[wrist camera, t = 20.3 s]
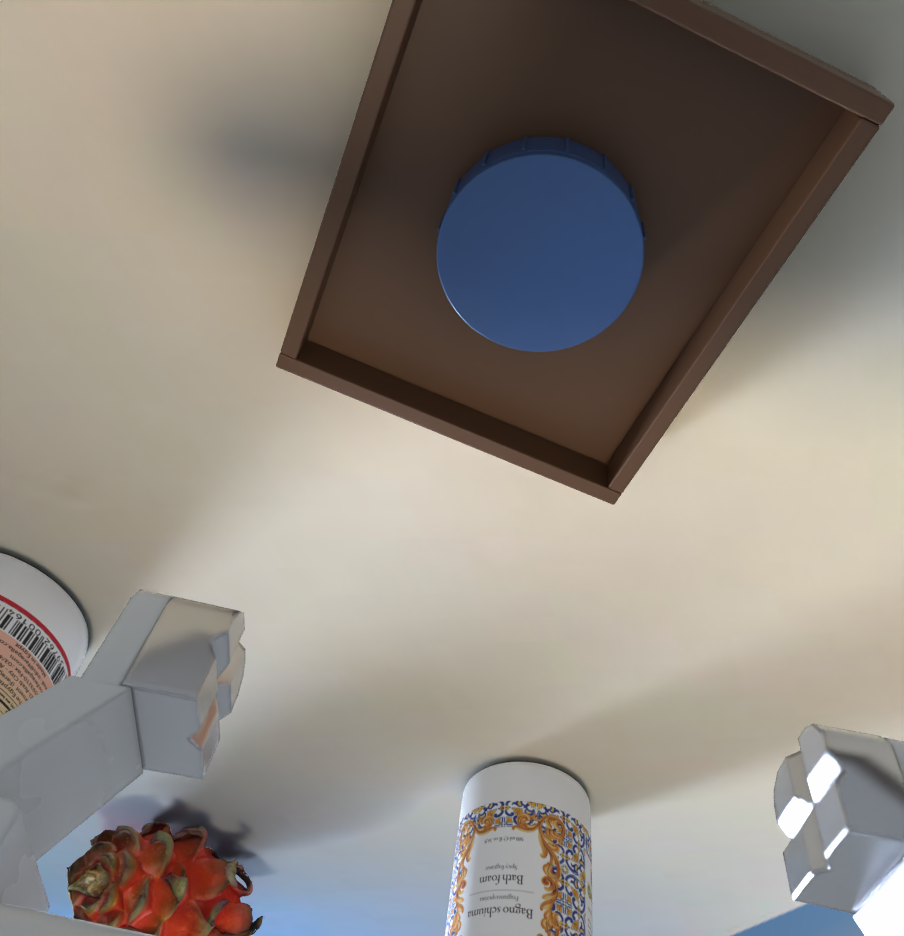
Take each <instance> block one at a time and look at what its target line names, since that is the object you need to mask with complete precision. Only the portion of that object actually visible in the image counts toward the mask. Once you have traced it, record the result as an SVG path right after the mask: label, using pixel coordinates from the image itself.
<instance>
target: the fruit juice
mask: <svg viewBox="0 0 904 936" xmlns="http://www.w3.org/2000/svg"><path fill="white" fill-rule="evenodd" d="M87 646H88V630H87V625H86V622H85V620H84V617H83V615H82V613H81V611H80V610H79V608H78V607H77V605H76V604H75V602H74V601H73V600H72V599H71V597H70V596H69V595H68V594H67V593H66V592H65V591H64V590H63V589H62V588H61V587H60V586H59V585H58V584H57V583H55V582H54V581H53V580H52V579H50V578H49V577H48V576H46V575H45V574H44V573H42V572H41V571H39V570H37V569H36V568H34V567H32V566H30V565H29V564H27V563H25V562H23V561H21V560H18V559H16V558H14V557H11V556H9V555H6V554H3V553H0V716H1V715H3V714H5V713H7V712H8V711H10V710H12V709H14V708H15V707H17V706H19V705H20V704H22V703H24V702H26V701H27V700H29V699H31V698H33V697H34V696H36V695H38V694H40V693H41V692H43V691H45V690H47V689H48V688H50V687H52V686H54V685H55V684H57V683H59V682H60V681H62V680H64V679H66V678H67V677H69V676H76V674H77V673H78V671H79V669H80V667H81V664H82V662H83V660H84V657H85V655H86V651H87Z"/></svg>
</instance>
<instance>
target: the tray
mask: <svg viewBox="0 0 904 936" xmlns="http://www.w3.org/2000/svg"><path fill="white" fill-rule="evenodd" d="M893 108H894V103H892V102H891V101H890V100H889V99H887V98H886V97H885V96H884V95H882V94H881V93H880V92H879V91H877V90H876V89H875V88H874V87H872V86H870V85H868V84H866V83H864V82H862V81H860V80H859V79H857V78H855V77H853V76H851V75H849V74H847V73H845V72H843V71H841V70H839V69H837V68H835V67H833V66H831V65H829V64H827V63H825V62H823V61H821V60H819V59H817V58H815V57H813V56H811V55H809V54H807V53H805V52H803V51H801V50H799V49H797V48H795V47H793V46H791V45H789V44H788V43H786V42H784V41H782V40H780V39H778V38H776V37H774V36H772V35H770V34H768V33H766V32H764V31H762V30H760V29H758V28H756V27H754V26H752V25H750V24H748V23H746V22H744V21H742V20H740V19H738V18H736V17H734V16H732V15H730V14H728V13H726V12H724V11H722V10H720V9H718V8H717V7H715V6H713V5H711V4H709V3H707V2H705V1H703V0H393V1H392V4H391V7H390V10H389V13H388V16H387V20H386V23H385V26H384V29H383V32H382V35H381V38H380V41H379V45H378V48H377V51H376V54H375V57H374V60H373V63H372V67H371V70H370V73H369V76H368V79H367V82H366V85H365V88H364V92H363V95H362V98H361V101H360V104H359V107H358V110H357V113H356V117H355V120H354V123H353V126H352V129H351V132H350V135H349V139H348V142H347V145H346V148H345V151H344V154H343V157H342V160H341V164H340V167H339V170H338V173H337V176H336V179H335V182H334V185H333V189H332V192H331V195H330V198H329V201H328V204H327V207H326V211H325V214H324V217H323V220H322V223H321V226H320V229H319V232H318V236H317V239H316V242H315V245H314V248H313V251H312V254H311V257H310V261H309V264H308V267H307V270H306V273H305V276H304V279H303V283H302V286H301V289H300V292H299V295H298V298H297V301H296V304H295V308H294V311H293V314H292V317H291V320H290V323H289V326H288V329H287V333H286V336H285V339H284V342H283V345H282V348H281V353H280V354H279V358H278V361H277V364H276V366H277V367H278V368H281V369H283V370H286V371H288V372H291V373H293V374H295V375H298V376H300V377H303V378H305V379H308V380H310V381H313V382H315V383H317V384H320V385H322V386H325V387H327V388H330V389H332V390H334V391H337V392H339V393H342V394H344V395H347V396H349V397H352V398H354V399H356V400H359V401H361V402H364V403H366V404H369V405H371V406H374V407H376V408H378V409H381V410H383V411H386V412H388V413H391V414H393V415H396V416H398V417H400V418H403V419H405V420H408V421H410V422H413V423H415V424H417V425H420V426H422V427H425V428H427V429H430V430H432V431H435V432H437V433H439V434H442V435H444V436H447V437H449V438H452V439H454V440H457V441H459V442H461V443H464V444H466V445H469V446H471V447H474V448H476V449H479V450H481V451H483V452H486V453H488V454H491V455H493V456H496V457H498V458H500V459H503V460H505V461H508V462H510V463H513V464H515V465H518V466H520V467H522V468H525V469H527V470H530V471H532V472H535V473H537V474H540V475H542V476H544V477H547V478H549V479H552V480H554V481H557V482H559V483H562V484H564V485H566V486H569V487H571V488H574V489H576V490H579V491H581V492H583V493H586V494H588V495H591V496H593V497H596V498H598V499H601V500H603V501H605V502H608V503H610V504H613V505H614V504H615V503H616V501H617V500H618V498H619V497H620V496H621V493H622V492H623V491H624V490H625V488H626V487H627V485H628V484H629V483H630V481H631V480H632V478H633V477H634V475H635V474H636V473H637V471H638V470H639V468H640V467H641V466H642V464H643V463H644V461H645V460H646V458H647V457H648V456H649V454H650V453H651V451H652V450H653V448H654V447H655V446H656V444H657V443H658V441H659V440H660V439H661V437H662V436H663V434H664V433H665V431H666V430H667V429H668V427H669V426H670V424H671V423H672V422H673V420H674V419H675V417H676V416H677V414H678V413H679V412H680V410H681V409H682V407H683V406H684V404H685V403H686V402H687V400H688V399H689V397H690V396H691V395H692V393H693V392H694V390H695V389H696V387H697V386H698V385H699V383H700V382H701V380H702V379H703V377H704V376H705V375H706V373H707V372H708V370H709V369H710V368H711V366H712V365H713V363H714V362H715V360H716V359H717V358H718V356H719V355H720V353H721V352H722V351H723V349H724V348H725V346H726V345H727V343H728V342H729V341H730V339H731V338H732V336H733V335H734V333H735V332H736V331H737V329H738V328H739V326H740V325H741V324H742V322H743V321H744V319H745V318H746V316H747V315H748V314H749V312H750V311H751V309H752V308H753V306H754V305H755V304H756V302H757V301H758V299H759V298H760V297H761V295H762V294H763V292H764V291H765V289H766V288H767V287H768V285H769V284H770V282H771V281H772V280H773V278H774V277H775V275H776V274H777V272H778V271H779V270H780V268H781V267H782V265H783V264H784V262H785V261H786V260H787V258H788V257H789V255H790V254H791V253H792V251H793V250H794V248H795V247H796V245H797V244H798V243H799V241H800V240H801V238H802V237H803V236H804V234H805V233H806V231H807V230H808V228H809V227H810V226H811V224H812V223H813V221H814V220H815V218H816V217H817V216H818V214H819V213H820V211H821V210H822V209H823V207H824V206H825V204H826V203H827V201H828V200H829V199H830V197H831V196H832V194H833V193H834V191H835V190H836V189H837V187H838V186H839V184H840V183H841V182H842V180H843V179H844V177H845V176H846V174H847V173H848V172H849V170H850V169H851V167H852V166H853V165H854V163H855V162H856V160H857V159H858V157H859V156H860V155H861V153H862V152H863V150H864V149H865V147H866V146H867V145H868V143H869V142H870V140H871V139H872V138H873V136H874V135H875V133H876V132H877V130H878V129H879V126H878V125H881V124H882V123H883V122H884V120H885V119H886V118H887V116H888V115H889V113H890V112H891V111H892V109H893ZM524 136H528V138H531V137H556V138H563V139H566V137H570V140H571V141H575V142H578V143H580V144H583V145H585V146H588V147H589V148H591V149H593V150H595V151H596V152H598V153H600V154H601V155H602V156H603V155H604V154H606V155H607V159H608V160H609V161H610V162H611V163H612V164H613V165H614V166H615V167H616V168H617V169H618V170H619V171H620V173H621V174H622V176H623V177H624V178H625V180H626V181H627V183H628V185H630V184H632V186H633V191H634V197H635V200H636V203H637V206H638V211H639V215H640V221H641V222H643V224H644V230H645V235H646V240H644V264H643V269H642V274H641V278H640V281H639V284H638V286H637V289H636V291H635V293H634V295H633V297H632V299H631V301H630V302H629V304H628V305H627V307H626V308H625V310H624V311H623V312H622V313H621V315H620V316H619V317H618V318H617V319H616V320H615V321H614V322H613V323H612V324H611V325H610V326H608V327H607V328H606V329H605V330H603V331H602V332H600V333H599V334H598V335H596V336H595V337H593V338H591V339H589V340H587V341H585V342H583V343H580V344H578V345H575V346H572V347H569V348H565V349H561V350H554V351H546V352H532V351H523V350H518V349H513V348H509V347H506V346H503V345H501V344H498V343H496V342H494V341H492V340H490V339H488V338H486V337H484V336H483V335H481V334H480V333H478V332H477V331H475V330H474V329H473V328H472V327H470V326H469V325H468V324H467V323H466V322H465V321H464V320H463V319H462V318H461V317H460V316H459V314H458V313H457V312H456V311H455V309H454V308H453V306H452V305H451V303H450V302H449V300H448V298H447V296H446V294H445V292H444V289H443V287H442V284H441V281H440V277H439V273H438V268H437V256H436V254H437V240H438V235H439V232H437V231H438V227H439V224H440V222H441V219H442V216H443V214H445V213H446V210H447V207H448V204H449V202H450V199H451V197H452V193H453V190H454V188H455V185H456V182H457V180H458V179H460V180H461V179H462V178H463V176H464V175H465V174H466V173H467V171H468V170H469V169H470V168H471V167H472V166H473V165H474V164H475V163H476V162H478V161H479V160H480V159H481V158H482V157H483V156H484V155H485V152H486V151H488V150H489V152H491V151H493V150H494V149H496V148H498V147H501V146H503V145H505V144H507V143H510V142H513V141H517V140H520V139H524Z"/></svg>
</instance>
